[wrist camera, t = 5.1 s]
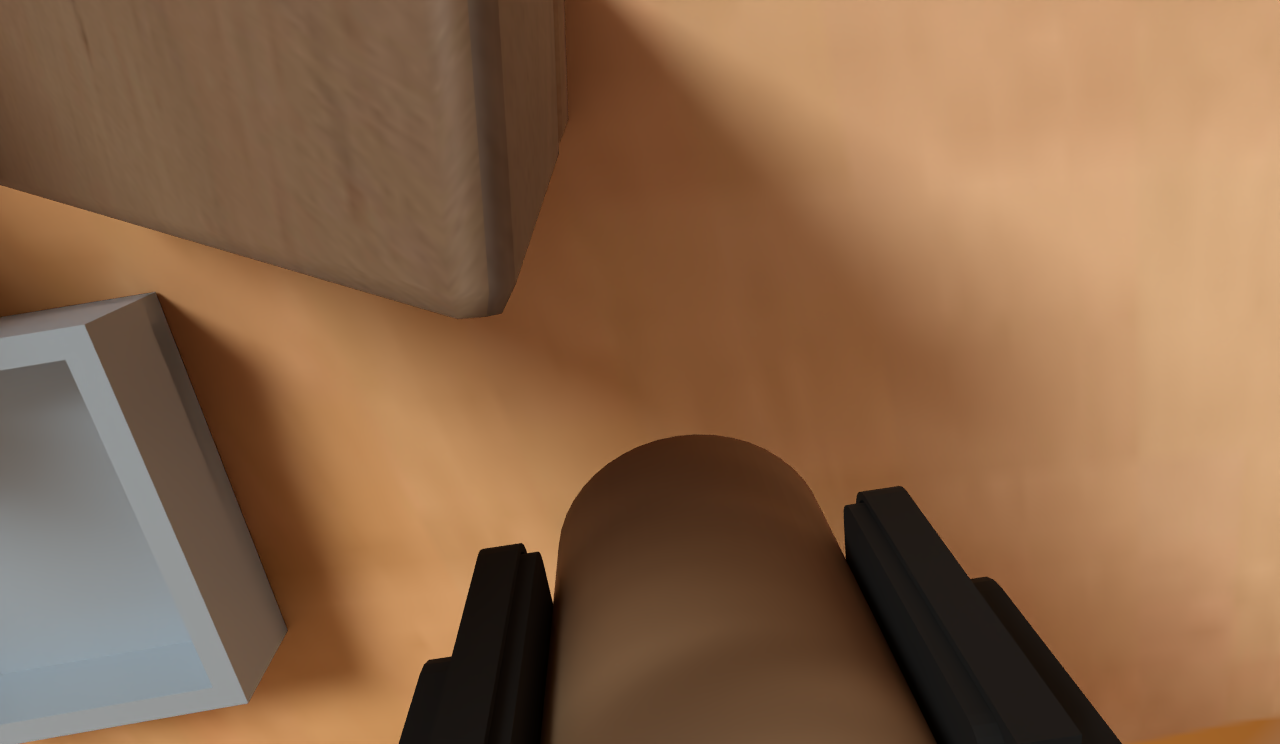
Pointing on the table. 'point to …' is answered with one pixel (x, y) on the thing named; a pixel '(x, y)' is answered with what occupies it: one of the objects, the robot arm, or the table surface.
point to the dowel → (713, 611)
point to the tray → (117, 532)
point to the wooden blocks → (299, 130)
